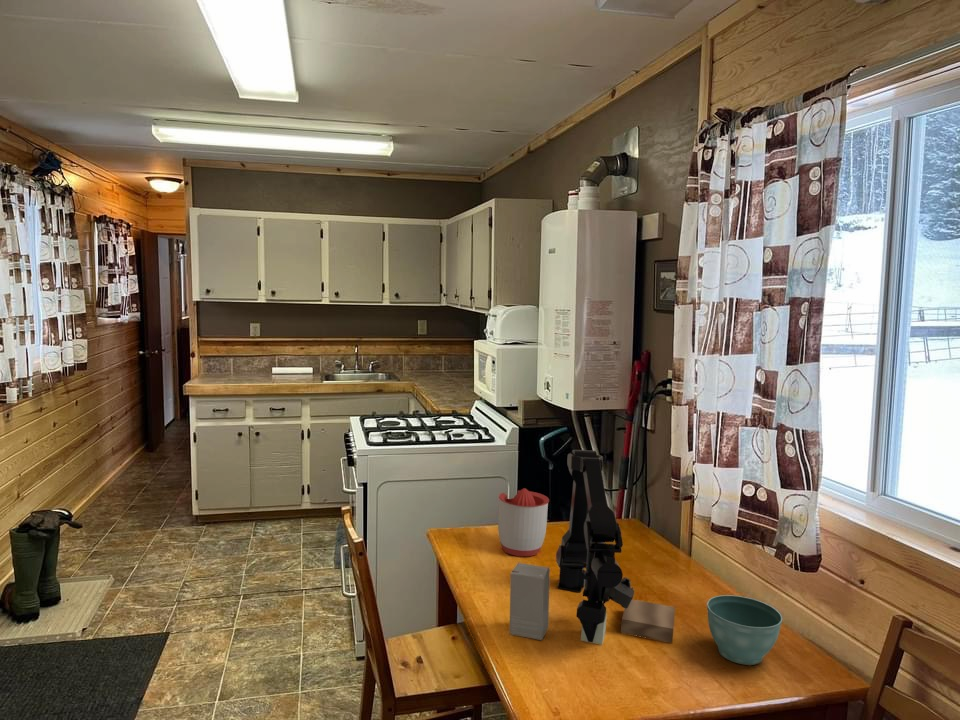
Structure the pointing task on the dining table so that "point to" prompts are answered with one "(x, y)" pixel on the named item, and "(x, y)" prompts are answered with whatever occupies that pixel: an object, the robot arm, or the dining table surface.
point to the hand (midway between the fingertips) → (593, 632)
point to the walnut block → (649, 620)
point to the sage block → (598, 635)
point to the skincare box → (529, 601)
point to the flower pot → (743, 627)
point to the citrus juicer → (522, 522)
